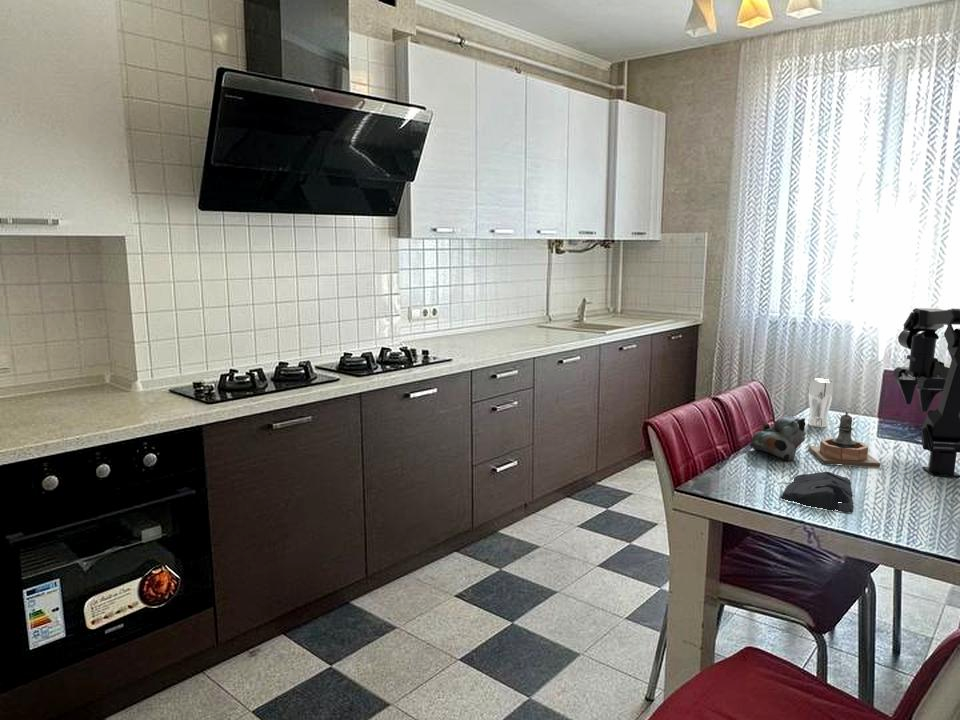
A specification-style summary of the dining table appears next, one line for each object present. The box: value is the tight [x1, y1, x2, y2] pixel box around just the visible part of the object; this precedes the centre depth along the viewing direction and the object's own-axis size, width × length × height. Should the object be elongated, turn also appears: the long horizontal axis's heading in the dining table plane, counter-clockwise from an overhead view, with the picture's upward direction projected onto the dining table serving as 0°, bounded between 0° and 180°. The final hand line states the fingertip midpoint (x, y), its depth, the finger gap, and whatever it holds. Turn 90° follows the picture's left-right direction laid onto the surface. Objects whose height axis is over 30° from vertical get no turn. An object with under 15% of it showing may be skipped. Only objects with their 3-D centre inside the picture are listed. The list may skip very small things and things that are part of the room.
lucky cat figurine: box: [748, 415, 807, 462], centre depth 195 cm, size 15×12×14 cm
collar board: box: [808, 437, 881, 468], centre depth 194 cm, size 14×14×4 cm
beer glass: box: [807, 378, 834, 428], centre depth 229 cm, size 7×7×15 cm
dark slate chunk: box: [779, 471, 855, 513], centre depth 165 cm, size 15×22×5 cm
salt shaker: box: [832, 411, 856, 448], centre depth 193 cm, size 6×6×12 cm
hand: (916, 407), depth 198 cm, fingers open, 9 cm apart
